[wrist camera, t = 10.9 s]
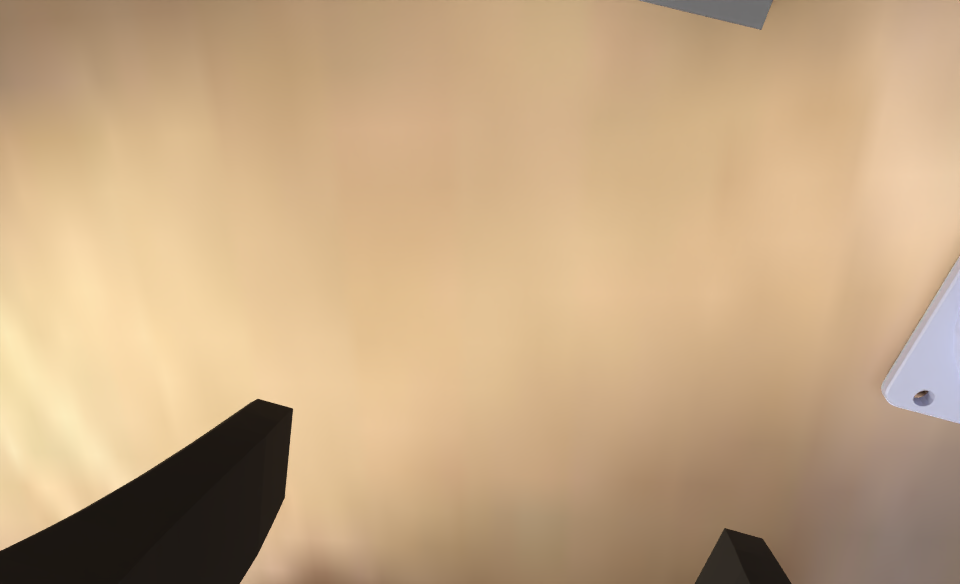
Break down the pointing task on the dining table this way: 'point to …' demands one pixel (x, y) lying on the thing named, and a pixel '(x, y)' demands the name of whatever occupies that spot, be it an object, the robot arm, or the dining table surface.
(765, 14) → the grey tray
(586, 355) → the dining table surface
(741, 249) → the dining table surface
